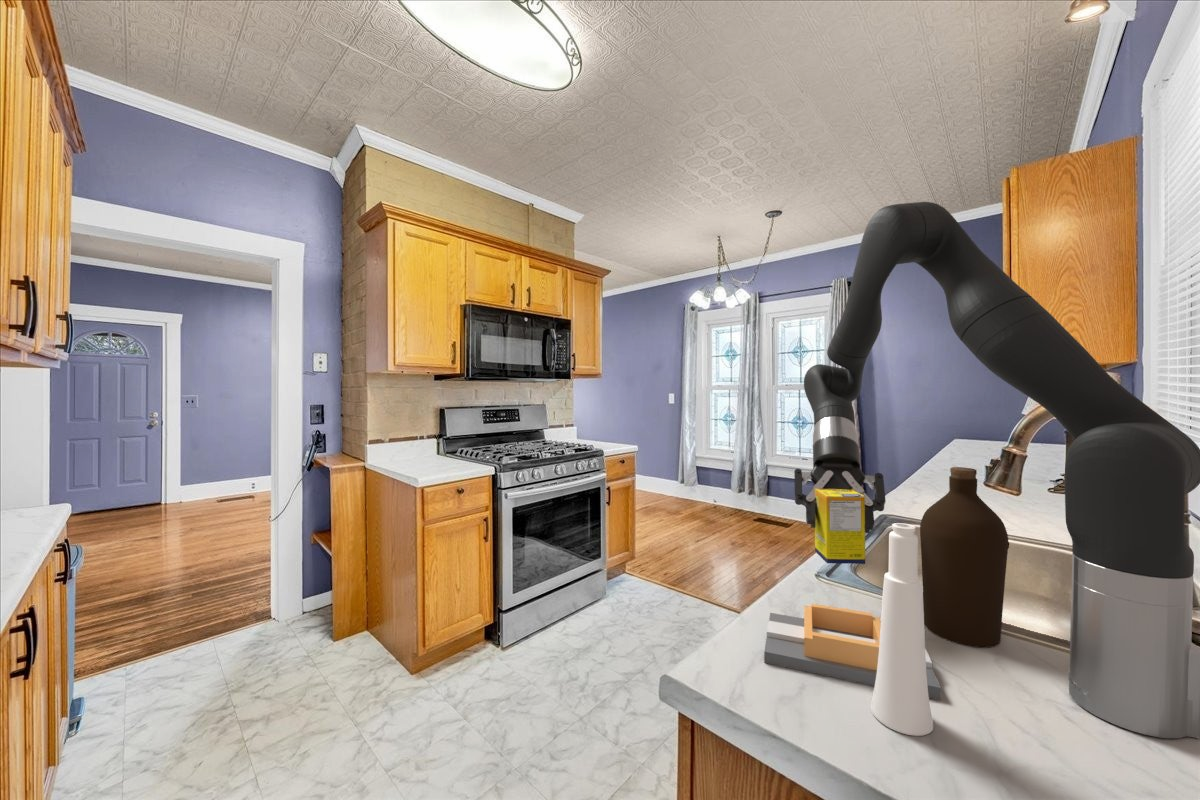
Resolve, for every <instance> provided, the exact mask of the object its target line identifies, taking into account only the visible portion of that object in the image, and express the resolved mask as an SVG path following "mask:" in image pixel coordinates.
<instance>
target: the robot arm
mask: <svg viewBox="0 0 1200 800" xmlns="http://www.w3.org/2000/svg"><path fill="white" fill-rule="evenodd" d="M910 263H912V264H913V263H915V264H916V265H919V266H920V267H921V268H923V269H924V270H925V271H927V273H928V274H929V275H930V276H932V278H933V279H934V280H935V281H936V282H938V285H940V287H941V288H942V290H943V292H944V294H945V295H944V296H945V298H946V306H947V313H948V318H949V322H950V325H951V327H952V329H953V332H954V333H955V334H956V336H957V337H958V339H959V340H960V341H961V342H962V343H963V344H964V345H965V347H966V348H967V349H968V351H970V353H972V354H973V355H974V357H975V358H977V360H978V361H980V363H982V365H984V366H985V367H986V369H988V370H989V371H990V372H992V373H993V374H994V375H996V376H997V377H998V378H1000V379H1001V380H1002V381H1004V382H1006V383H1007V384H1008V385H1009V386H1011V387H1013V388H1014V389H1016V390H1018V391H1019V392H1021V394H1023V395H1025V396H1027V397H1028V398H1030V399H1031V400H1032V401H1034V402H1035V403H1037V404H1038V405H1040V406H1041V407H1043V408H1044V409H1046V411H1048V412H1049V414H1051V415H1052V416H1053V417H1054V418H1055V419H1056V420H1057V421H1058V422H1059V423H1060V424H1061V426H1062V427H1063V428H1064V429H1065V430H1066V431H1067V432H1068V434H1069V435H1070V436H1071V437H1072V439H1073V442H1072V443H1071V444H1070V447H1069V448H1068V451H1067V454H1066V458H1065V463H1064V464H1065V465H1064V507H1065V509H1064V511H1065V525H1066V529H1067V532H1068V533H1069V535H1070V538H1071V543H1072V546H1071V548H1072V550H1071V551H1072V553H1071V554H1072V555H1071V556H1072V558H1071V593H1070V594H1071V595H1070V596H1071V597H1070V599H1071V600H1070V627H1069V628H1070V631H1069V633H1070V634H1069V635H1070V638H1069V671H1068V692H1069V694H1068V695H1069V696H1070V697H1071V698H1072V701H1074V702H1075V703H1076V704H1077V705H1079V706H1080V707H1081V708H1083V709H1085V710H1086V711H1087V712H1089V713H1091V714H1092V715H1094V716H1096V717H1098V718H1100V719H1102V720H1104V721H1106V722H1108V723H1111V724H1112V725H1115V726H1118V727H1121V728H1124V729H1126V730H1128V731H1130V732H1135V733H1139V734H1141V735H1145V736H1150V737H1154V738H1155V737H1156V738H1160V739H1161V738H1163V739H1181V738H1184V737H1189V738H1190V737H1192V738H1194V739H1195V738H1197V739H1200V647H1199V646H1197V645H1196V644H1195V643H1193V642H1192V635H1193V634H1192V631H1193V629H1192V628H1193V627H1192V626H1193V599H1194V598H1193V597H1194V596H1193V595H1194V573H1195V571H1194V570H1195V554H1194V551H1193V549H1192V548H1191V547H1190V545H1188V541H1187V539H1186V534H1185V533H1186V531H1185V529H1186V528H1185V527H1186V526H1185V523H1186V522H1185V520H1186V519H1185V513H1186V512H1185V504H1186V503H1185V498H1186V495H1187V494H1189V493H1191V492H1193V491H1194V490H1195V489H1196V488H1197V487H1198V486H1199V485H1200V448H1199V445H1198V444H1196V442H1195V441H1194V440H1193V439H1192V438H1191V437H1190V436H1189V435H1187V434H1186V433H1185V432H1183V431H1182V430H1180V429H1179V428H1178V427H1177V426H1175V425H1174V424H1172V423H1171V422H1170V421H1169V420H1167V419H1165V417H1163V416H1161V415H1160V414H1159V413H1157V412H1156V411H1155V410H1153V409H1152V408H1151V407H1150V406H1148V405H1147V404H1146V403H1144V402H1143V401H1142V400H1140V399H1139V398H1138V397H1136V395H1134V394H1133V393H1131V392H1130V391H1128V390H1127V389H1126V388H1125V387H1124V386H1122V384H1120V383H1119V382H1117V381H1116V380H1115V379H1114V377H1112V376H1111V375H1110V374H1109V373H1108V372H1107V371H1106V370H1105V369H1104V368H1103V367H1102V366H1101V364H1099V362H1097V360H1096V359H1095V358H1094V357H1093V356H1092V355H1091V354H1090V353H1089V352H1088V351H1087V349H1085V347H1084V346H1083V345H1082V344H1081V343H1080V342H1079V341H1078V340H1077V339H1076V338H1075V337H1074V336H1073V335H1072V334H1071V333H1070V332H1069V331H1067V329H1066V328H1065V327H1064V326H1063V325H1062V324H1061V323H1060V322H1059V321H1058V320H1057V319H1056V318H1055V317H1054V316H1053V315H1052V314H1051V313H1050V312H1049V311H1048V310H1047V309H1045V308H1044V307H1043V306H1042V305H1041V304H1040V303H1039V302H1038V301H1037V300H1036V299H1035V298H1033V296H1031V294H1029V293H1028V292H1027V291H1026V290H1024V289H1023V288H1022V287H1021V286H1019V285H1018V284H1017V282H1015V281H1014V280H1013V279H1012V278H1011V277H1010V276H1009V275H1008V274H1007V273H1006V272H1005V271H1004V270H1003V269H1001V268H1000V267H999V266H998V265H997V264H996V263H995V262H994V261H993V260H992V259H990V258H989V257H988V256H987V255H986V254H985V253H984V252H983V251H982V250H981V249H980V247H978V245H977V244H976V243H975V242H974V240H973V239H972V238H971V237H970V236H969V234H968V233H967V231H966V230H964V228H963V227H962V225H960V223H959V222H958V221H957V219H956V218H955V217H954V216H953V214H951V213H950V212H949V211H948V210H947V209H946V208H945V207H943V206H942V205H940V204H938V203H935V202H930V201H915V202H907V203H906V202H905V203H894V204H890V205H886V206H884V207H881V208H880V209H878V210H877V211H876V212H874V214H873V215H872V216H871V218H870V219H869V221H868V223H867V225H866V226H865V230H864V232H863V235H862V238H861V242H860V245H859V249H858V255H857V258H856V262H855V265H854V269H853V273H852V278H851V282H850V286H849V291H848V296H847V300H846V303H845V305H844V310H843V311H842V315H841V317H840V320H839V322H838V324H837V327H836V329H835V331H834V333H833V336H832V337H831V340H830V343H829V345H828V347H827V350H826V353H827V358H828V360H830V361H831V362H832V363H834V364H835V365H837V366H832V365H829V364H828V365H827V364H814V365H812V366H811V367H810V368H809V369H807V371H806V372H805V375H804V378H803V388H804V394H805V396H806V398H807V400H808V403H809V404H810V407H811V410H812V413H813V434H812V444H811V446H812V466H813V467H812V470H811V471H802V470H801V468H795V469H794V472H793V473H794V476H793V477H794V503H795V504H796V505H797V506H801V505H802V506H804V507H805V522H806V523H807V525H810V528H811V529H815V499H816V496H815V489H848V490H854V491H855V492H857V493H859V494H861V495H863V496H864V497H865V534H870V531H874V527H875V515H874V512H876V511H877V512H883V511H884V510H885V504H886V502H887V501H886V491H885V490H886V489H885V483H884V482H885V481H884V474H882V473H881V472H876V473H875V474H874V475H867V474H864V472H863V471H862V467H861V457H860V448H859V445H860V444H859V437H858V433H857V432H858V431H857V429H856V420H855V419H856V418H855V410H854V407H853V405H852V402H854V401H855V400H857V398H858V396H859V395H860V393H861V389H862V383H863V382H862V380H863V373H864V370H865V369H864V368H865V364H866V361H867V358H868V356H869V355H870V353H871V350H872V349H873V346H874V344H875V343H876V341H877V339H878V336H879V335H880V332H881V328H882V322H883V315H882V314H883V313H882V304H881V303H882V301H881V300H882V299H881V298H882V292H883V288H884V286H885V285H886V282H887V280H888V278H889V276H890V275H891V273H892V271H893V270H894V268H895V267H896V266H897V265H902V264H910ZM838 366H839V367H838ZM810 480H811V482H812V483H813V485H814V486H813V487H812V490H811V491H810V492H809V493H808V495H805V494H804V493H803V486H804V485H806V484H808V483H807V482H808V481H810ZM864 484H868V487H869V488H870V489H871V490H873V492H874V499H871V498H870V497H869V496H868V494H867V493H866V491H865V490H864V488H863V487H862V486H864Z"/></svg>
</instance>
